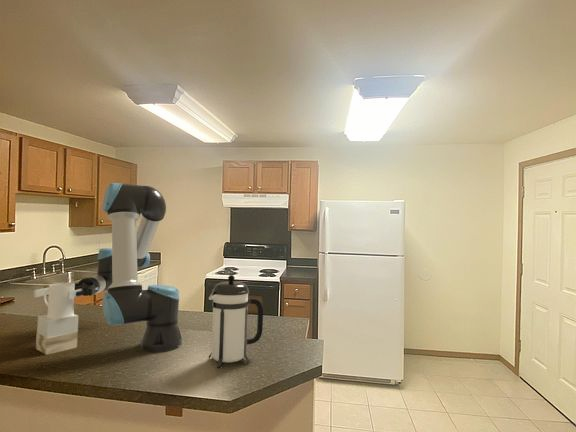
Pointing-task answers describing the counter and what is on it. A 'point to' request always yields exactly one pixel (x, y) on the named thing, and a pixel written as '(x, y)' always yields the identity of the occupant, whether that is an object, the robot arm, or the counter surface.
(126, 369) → the counter surface
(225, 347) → the coffee press
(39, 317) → the tower top
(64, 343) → the block
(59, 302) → the mug
